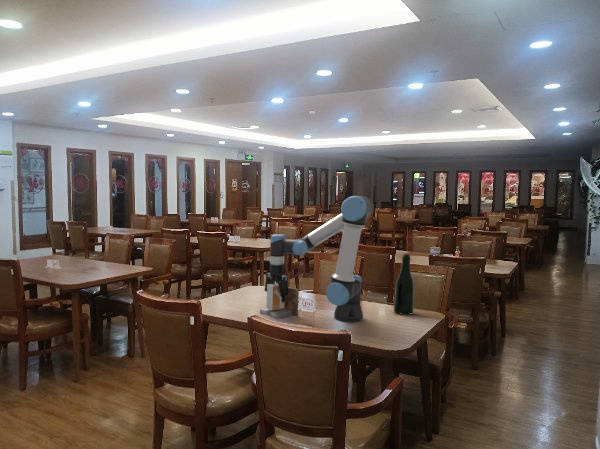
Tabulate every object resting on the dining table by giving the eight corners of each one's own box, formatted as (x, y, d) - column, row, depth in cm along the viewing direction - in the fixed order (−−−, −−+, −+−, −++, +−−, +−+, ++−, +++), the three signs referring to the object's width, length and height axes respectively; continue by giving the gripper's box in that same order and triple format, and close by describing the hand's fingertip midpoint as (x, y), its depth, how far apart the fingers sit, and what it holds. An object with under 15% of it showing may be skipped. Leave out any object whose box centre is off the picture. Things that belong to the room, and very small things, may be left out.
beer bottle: (390, 312, 261) (393, 253, 258) (400, 309, 269) (403, 251, 266) (407, 316, 254) (410, 255, 251) (416, 313, 262) (419, 254, 259)
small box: (272, 311, 246) (272, 286, 245) (266, 308, 251) (266, 284, 250) (285, 309, 250) (286, 284, 249) (279, 306, 255) (279, 282, 254)
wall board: (297, 315, 250) (298, 289, 248) (284, 319, 241) (285, 292, 240) (269, 308, 262) (270, 283, 261) (256, 311, 254) (256, 286, 252)
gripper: (296, 265, 245) (295, 308, 247) (267, 260, 258) (266, 301, 260) (287, 267, 239) (285, 311, 241) (258, 262, 252) (257, 304, 254)
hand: (275, 306), depth 250 cm, fingers closed on small box, 7 cm apart
